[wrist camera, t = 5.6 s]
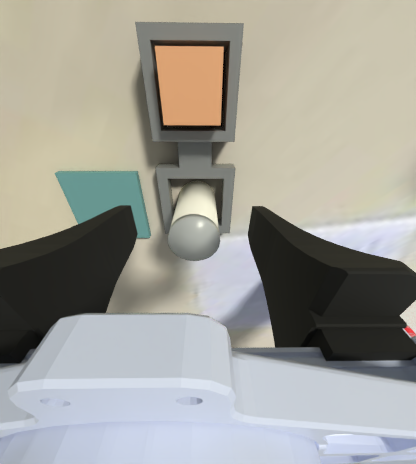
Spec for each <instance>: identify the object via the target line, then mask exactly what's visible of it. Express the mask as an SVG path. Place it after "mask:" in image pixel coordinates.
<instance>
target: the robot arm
mask: <svg viewBox="0 0 416 464" xmlns="http://www.w3.org/2000/svg"><path fill="white" fill-rule="evenodd" d="M137 235H138V233H137V229H136V225H135V221H134V216H133V212H132V208H131V205H120V206H117V207H114V208H112V209H110V210H108V211H105V212H103V213H101V214H99V215H97V216H95V217H93V218H91V219H89V220H87V221H84V222H82V223H80V224H78V225H76V226H73V227H71V228H69V229H66V230H63V231H61V232H58V233H55V234H52V235H49V236H46V237H43V238H40V239H36V240H33V241H30V242H26V243H23V244H19V245H15V246H11V247H7V248H3V249H0V464H349V463H361V464H416V336H414V337H411V336H410V335H409V334H408V333H407V332H406V331H405V328H406V327H407V324H406V323H405V321H404V320H403V319H402V318H401V317H400V315H401V314H402V313H403V312H404V311H405V310H406V309H407V308H408V307H409V306H410V305H411V304H412V303H413V302H414V301H415V300H416V273H415V272H414V271H413V270H412V269H410V268H409V267H408V266H407V265H405V264H404V263H402V262H401V261H397V260H392V259H388V258H383V257H379V256H375V255H370V254H367V253H363V252H359V251H356V250H353V249H349V248H346V247H343V246H340V245H337V244H334V243H332V242H329V241H326V240H324V239H321V238H319V237H316V236H314V235H312V234H310V233H308V232H306V231H304V230H302V229H300V228H298V227H296V226H294V225H293V224H291V223H289V222H287V221H286V220H284V219H283V218H281V217H279V216H278V215H276V214H275V213H273V212H272V211H270V210H269V209H267V208H265V207H263V206H252V212H251V218H250V225H249V231H248V238H249V244H250V248H251V251H252V254H253V257H254V260H255V262H256V265H257V268H258V271H259V274H260V276H261V280H262V283H263V287H264V291H265V296H266V300H267V305H268V310H269V314H270V320H271V325H272V331H273V336H274V342H275V348H231V341H230V336H229V334H228V331H227V328H226V327H225V326H224V325H223V324H221V323H219V322H217V321H216V320H214V319H212V318H211V317H209V316H205V315H198V314H191V313H106V311H107V307H108V304H109V301H110V298H111V296H112V293H113V290H114V287H115V285H116V282H117V280H118V278H119V276H120V274H121V272H122V270H123V268H124V266H125V264H126V262H127V260H128V258H129V256H130V254H131V252H132V250H133V248H134V245H135V242H136V238H137Z"/></svg>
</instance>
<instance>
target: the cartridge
mask: <svg viewBox="0 0 416 464" xmlns="http://www.w3.org/2000/svg"><path fill="white" fill-rule="evenodd" d="M219 244H220V236H219V228H218V219H217V210H216V202H215V194H214V191H213V189H212V188H211V187H210V186H209V185H208V184H206V183H205V182H202V181H192V182H189V183H187V184H185V185H184V186H183V188H182V189H181V191H180V194H179V198H178V201H177V205H176V209H175V213H174V216H173V220H172V224H171V227H170V231H169V235H168V245H169V247H170V249H171V250H172V252H173V253H174V254H176V255H177V256H178V257H180V258H182V259H185V260H190V261H199V260H204V259H207V258H209V257H210V256H212V255H213V254H214V253H215V252H216V251H217V249H218V247H219Z"/></svg>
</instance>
